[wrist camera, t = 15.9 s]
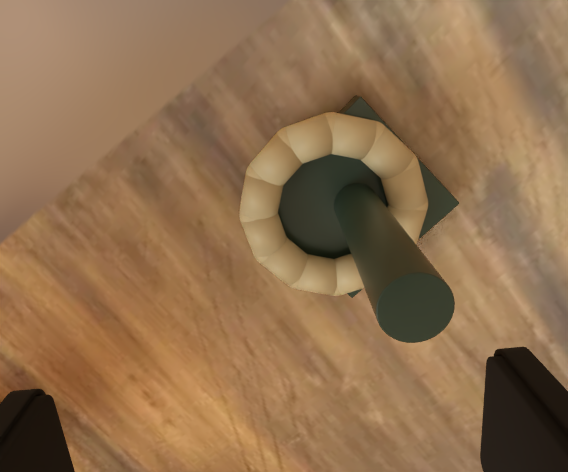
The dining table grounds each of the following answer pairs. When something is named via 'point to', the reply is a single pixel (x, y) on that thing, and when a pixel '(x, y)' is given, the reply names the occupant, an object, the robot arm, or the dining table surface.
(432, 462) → the dining table surface
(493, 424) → the robot arm
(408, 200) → the bracelet
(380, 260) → the stand
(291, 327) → the dining table surface
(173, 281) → the dining table surface
